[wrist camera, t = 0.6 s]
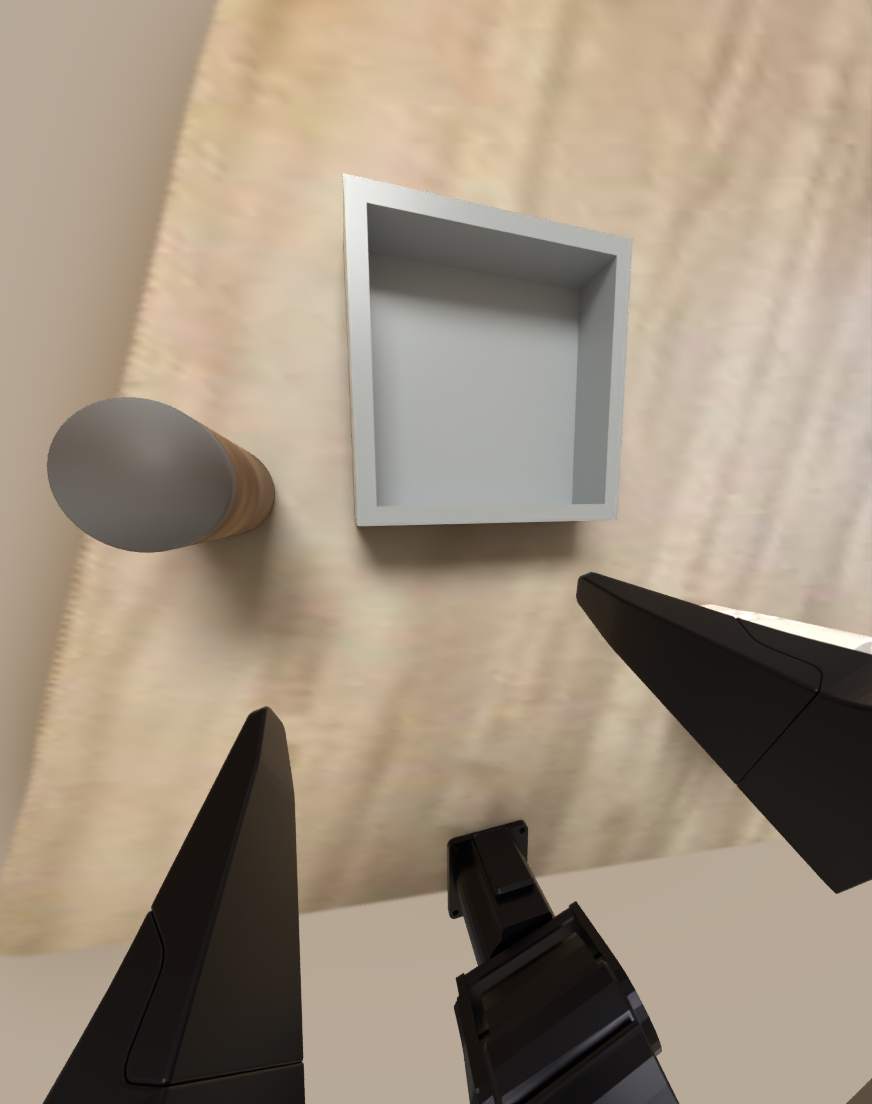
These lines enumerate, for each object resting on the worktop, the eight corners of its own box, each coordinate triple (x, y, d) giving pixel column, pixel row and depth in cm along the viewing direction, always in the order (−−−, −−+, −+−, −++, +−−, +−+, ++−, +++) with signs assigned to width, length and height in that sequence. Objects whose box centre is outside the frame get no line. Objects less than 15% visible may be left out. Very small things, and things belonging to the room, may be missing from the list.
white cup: (744, 640, 32) (917, 696, 22) (688, 700, 31) (843, 787, 21) (708, 578, 30) (882, 611, 20) (647, 641, 29) (799, 707, 19)
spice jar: (277, 533, 20) (234, 549, 12) (180, 536, 19) (60, 556, 11) (271, 446, 20) (221, 402, 12) (170, 443, 19) (35, 391, 10)
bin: (576, 518, 26) (617, 519, 22) (355, 523, 22) (357, 526, 18) (585, 283, 24) (632, 239, 20) (343, 239, 19) (343, 173, 16)
